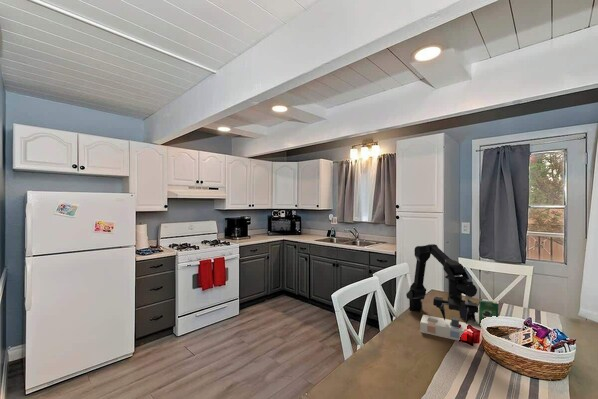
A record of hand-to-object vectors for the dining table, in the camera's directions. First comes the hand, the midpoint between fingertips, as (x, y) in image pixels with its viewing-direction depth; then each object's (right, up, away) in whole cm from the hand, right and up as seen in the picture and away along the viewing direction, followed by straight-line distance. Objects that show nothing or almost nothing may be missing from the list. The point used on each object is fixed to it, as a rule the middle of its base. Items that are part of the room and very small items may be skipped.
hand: (455, 321), depth 135 cm
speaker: (+16, -6, +18) cm, 25 cm away
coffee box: (+21, -6, +8) cm, 24 cm away
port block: (-4, -7, +3) cm, 8 cm away
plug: (0, -7, 0) cm, 7 cm away
